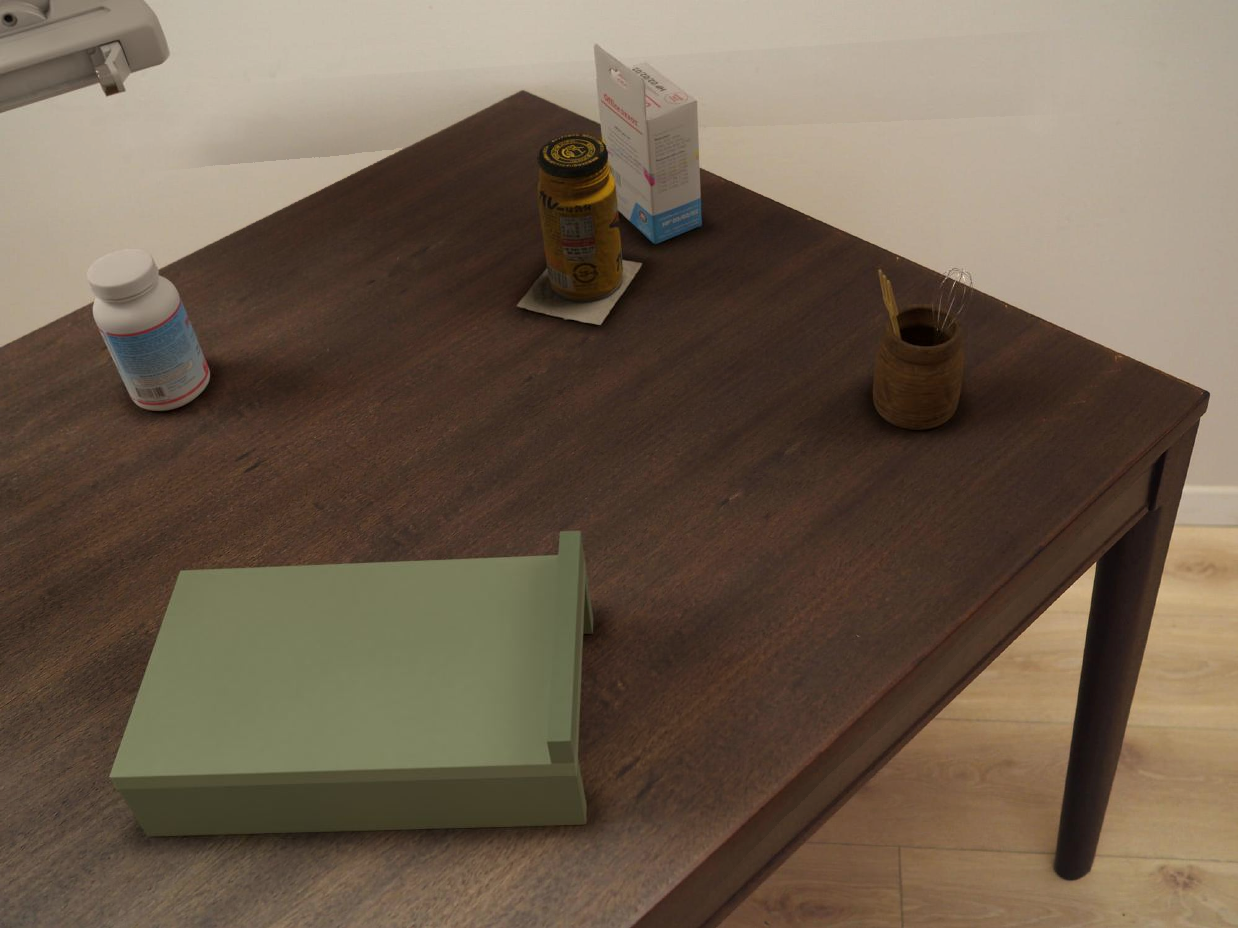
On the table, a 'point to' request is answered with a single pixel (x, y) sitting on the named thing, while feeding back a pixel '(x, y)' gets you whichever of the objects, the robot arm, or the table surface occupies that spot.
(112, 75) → the robot arm
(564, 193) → the condiment
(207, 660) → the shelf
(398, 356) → the table surface
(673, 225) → the ink box
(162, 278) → the pill bottle
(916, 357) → the utensil holder
